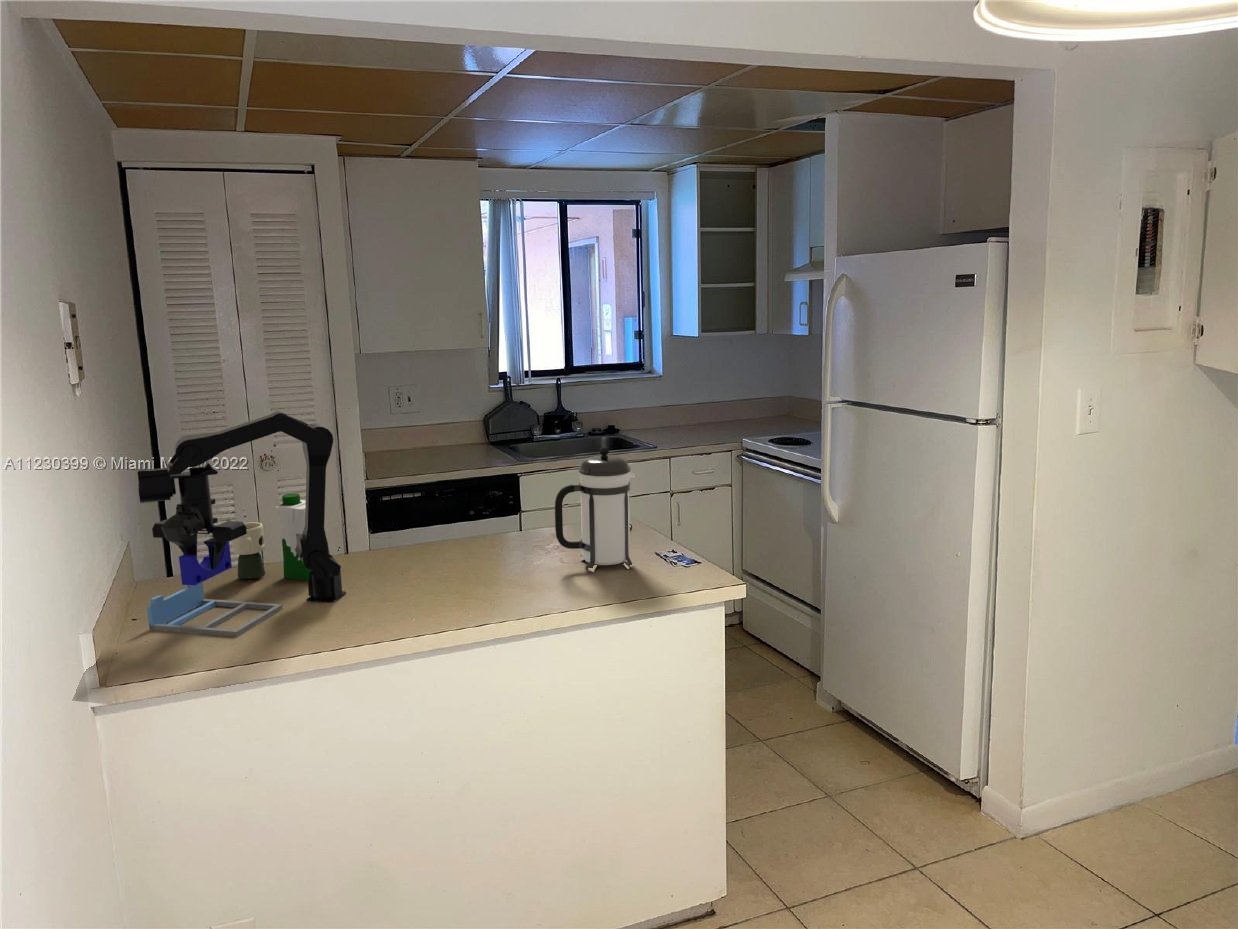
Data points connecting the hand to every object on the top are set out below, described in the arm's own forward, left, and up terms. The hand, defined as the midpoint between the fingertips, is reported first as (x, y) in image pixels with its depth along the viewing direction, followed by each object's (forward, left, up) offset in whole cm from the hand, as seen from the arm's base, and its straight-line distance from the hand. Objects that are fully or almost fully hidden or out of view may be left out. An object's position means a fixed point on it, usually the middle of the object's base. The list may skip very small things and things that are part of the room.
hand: (203, 568), depth 187 cm
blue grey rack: (-2, 0, -11) cm, 11 cm away
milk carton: (-4, -30, -11) cm, 32 cm away
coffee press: (-74, -50, -11) cm, 90 cm away
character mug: (+8, -26, -11) cm, 29 cm away
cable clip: (0, 0, -2) cm, 2 cm away
